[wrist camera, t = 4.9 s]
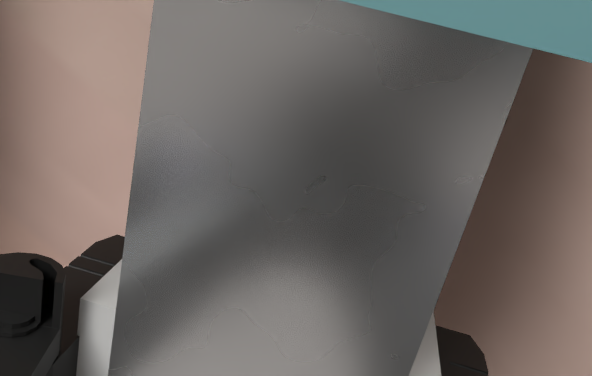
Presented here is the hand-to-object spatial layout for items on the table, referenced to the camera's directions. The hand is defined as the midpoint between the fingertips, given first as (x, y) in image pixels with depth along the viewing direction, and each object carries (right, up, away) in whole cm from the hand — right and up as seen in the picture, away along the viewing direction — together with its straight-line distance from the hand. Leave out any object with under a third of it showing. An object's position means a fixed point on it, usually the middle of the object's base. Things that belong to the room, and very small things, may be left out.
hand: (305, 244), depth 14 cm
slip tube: (-1, -4, -2) cm, 4 cm away
